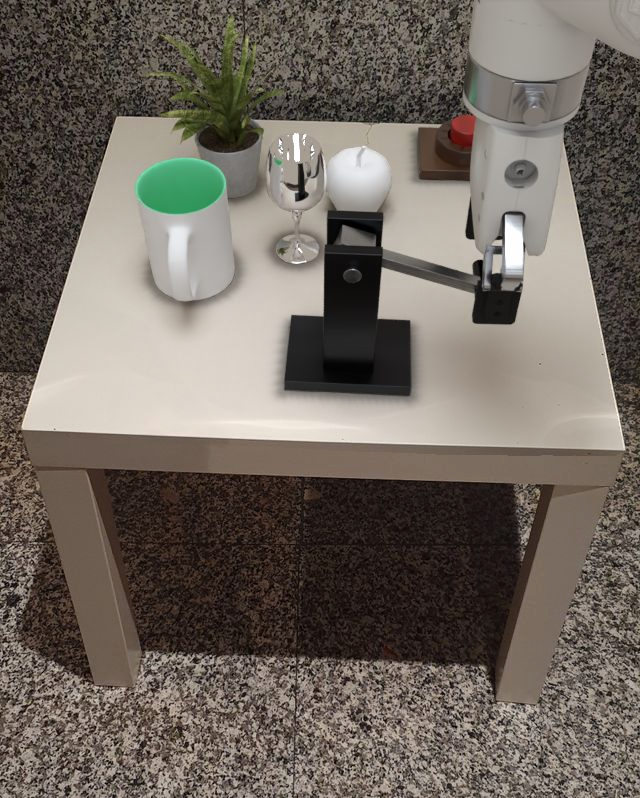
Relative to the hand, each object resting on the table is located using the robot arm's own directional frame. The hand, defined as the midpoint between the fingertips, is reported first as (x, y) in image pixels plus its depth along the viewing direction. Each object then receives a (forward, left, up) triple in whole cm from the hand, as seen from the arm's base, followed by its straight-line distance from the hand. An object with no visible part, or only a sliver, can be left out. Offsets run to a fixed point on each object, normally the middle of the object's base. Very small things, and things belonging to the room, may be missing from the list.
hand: (488, 277), depth 66 cm
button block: (+7, -30, -11) cm, 33 cm away
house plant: (+31, -19, -11) cm, 38 cm away
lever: (+6, +1, -1) cm, 6 cm away
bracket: (+11, +2, -11) cm, 15 cm away
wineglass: (+20, -10, -11) cm, 25 cm away
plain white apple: (+16, -18, -11) cm, 26 cm away
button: (+7, -30, -8) cm, 32 cm away
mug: (+28, -2, -11) cm, 30 cm away
